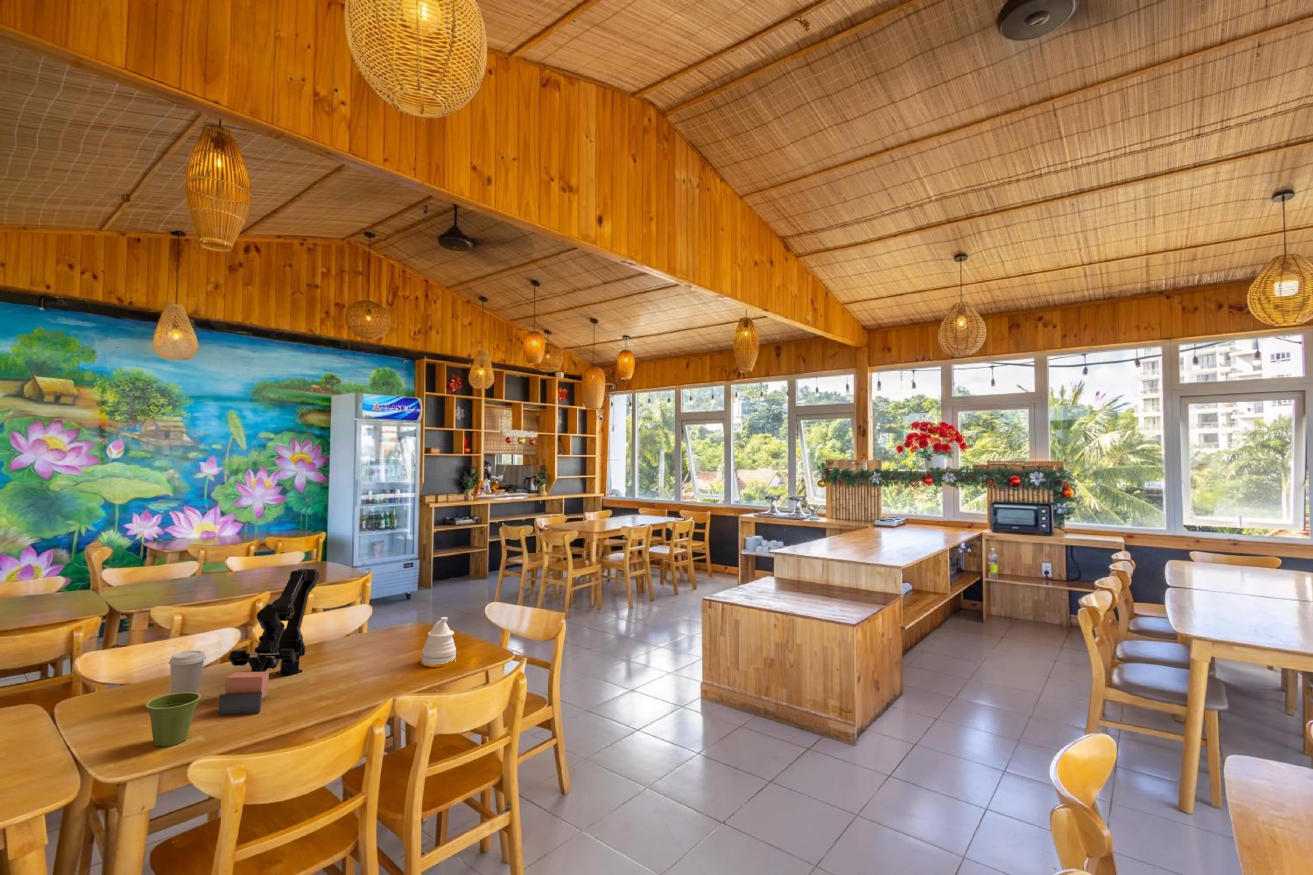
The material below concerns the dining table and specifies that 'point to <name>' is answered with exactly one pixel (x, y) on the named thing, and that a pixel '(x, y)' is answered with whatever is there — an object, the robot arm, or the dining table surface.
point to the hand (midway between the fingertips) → (253, 681)
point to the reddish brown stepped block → (247, 682)
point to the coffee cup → (186, 671)
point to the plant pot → (172, 717)
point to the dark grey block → (240, 703)
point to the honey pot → (439, 644)
